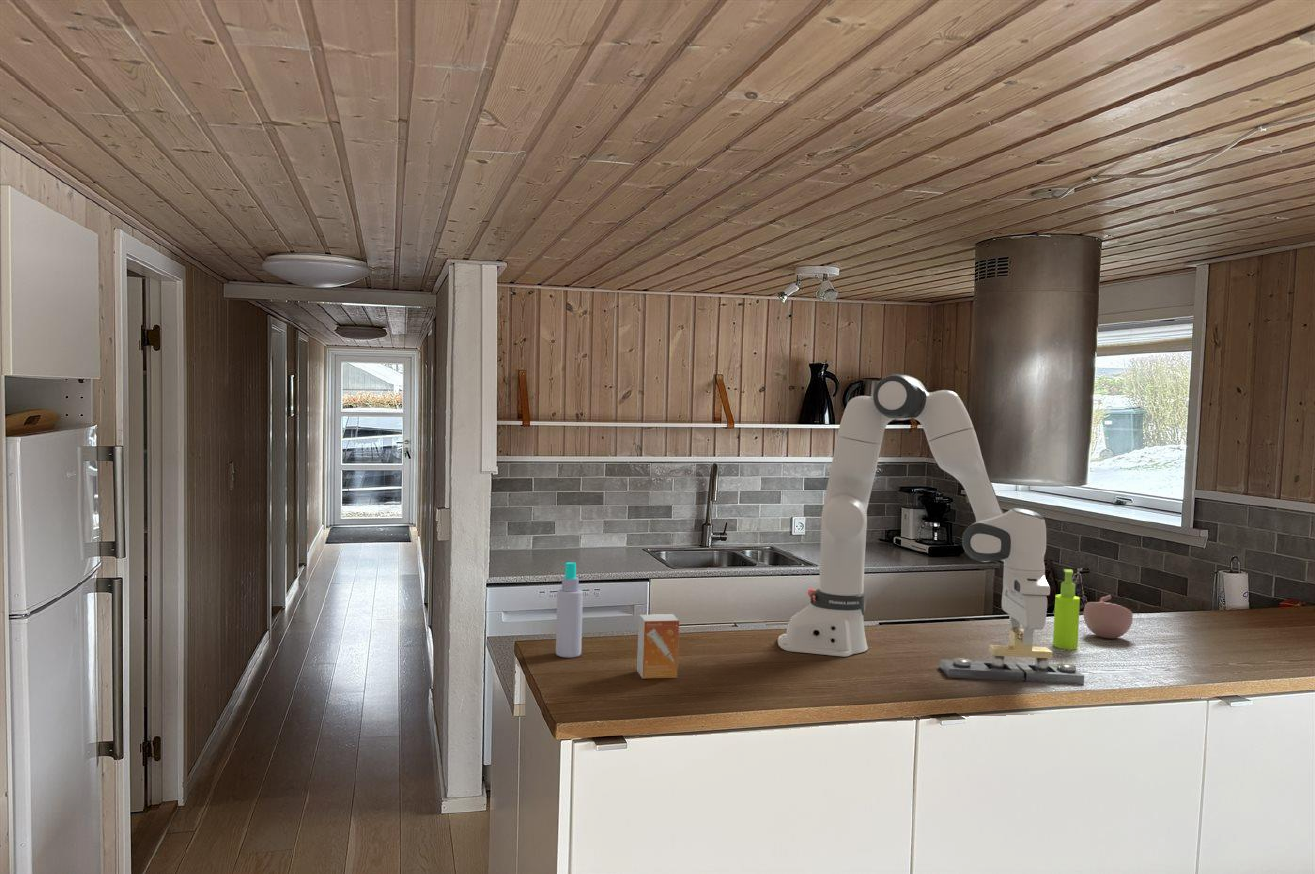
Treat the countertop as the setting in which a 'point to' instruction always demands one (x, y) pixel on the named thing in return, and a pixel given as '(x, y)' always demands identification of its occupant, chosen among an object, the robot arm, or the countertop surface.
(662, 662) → the small box
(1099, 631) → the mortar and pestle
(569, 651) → the spray bottle
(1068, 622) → the soap dispenser
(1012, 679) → the plate
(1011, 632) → the tan bridge piece
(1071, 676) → the right chain end
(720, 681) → the countertop surface
